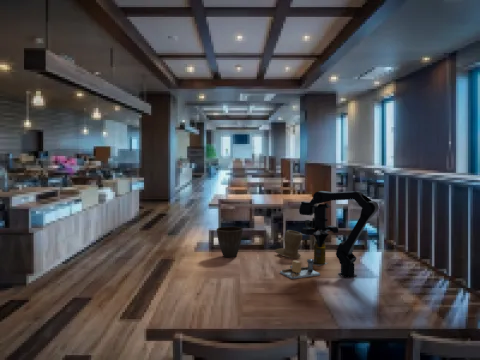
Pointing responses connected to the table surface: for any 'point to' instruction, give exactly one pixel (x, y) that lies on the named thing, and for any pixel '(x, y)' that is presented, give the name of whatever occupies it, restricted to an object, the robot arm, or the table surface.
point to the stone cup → (291, 244)
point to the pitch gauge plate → (304, 271)
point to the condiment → (319, 254)
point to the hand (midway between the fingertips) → (319, 247)
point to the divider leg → (296, 266)
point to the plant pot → (229, 240)
